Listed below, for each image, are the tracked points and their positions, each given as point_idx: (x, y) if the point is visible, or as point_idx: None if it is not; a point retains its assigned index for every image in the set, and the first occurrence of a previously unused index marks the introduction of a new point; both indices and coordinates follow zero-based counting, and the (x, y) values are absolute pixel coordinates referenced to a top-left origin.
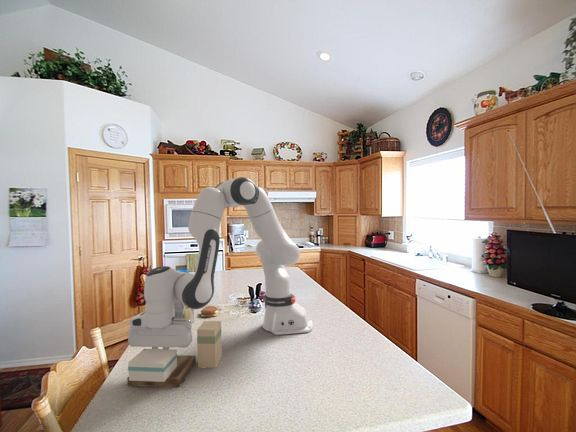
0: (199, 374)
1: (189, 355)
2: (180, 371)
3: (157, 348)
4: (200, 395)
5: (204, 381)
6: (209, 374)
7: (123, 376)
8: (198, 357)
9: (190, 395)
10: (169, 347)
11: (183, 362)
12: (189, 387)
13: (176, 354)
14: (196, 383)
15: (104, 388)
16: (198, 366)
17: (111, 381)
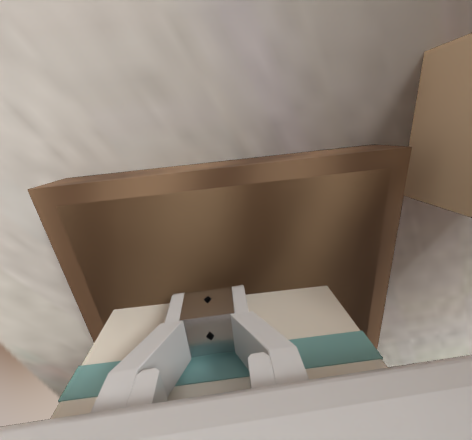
0: (418, 246)
1: (364, 153)
2: (364, 319)
3: (153, 366)
4: (443, 348)
5: (448, 285)
6: (466, 238)
7: (45, 319)
8: (465, 213)
9: (408, 354)
10: (296, 355)
11: (350, 244)
12: (394, 324)
13: (379, 362)
14: (417, 301)
15: (50, 387)
16: (408, 196)
17: (27, 354)
